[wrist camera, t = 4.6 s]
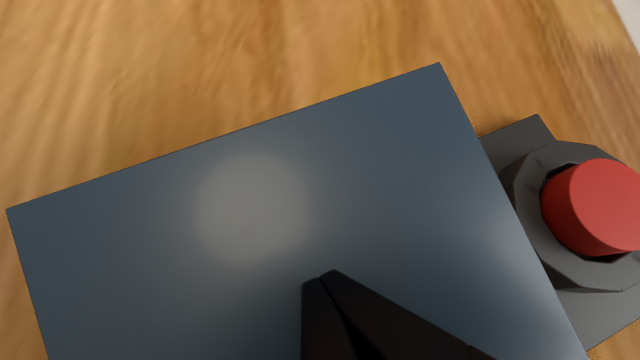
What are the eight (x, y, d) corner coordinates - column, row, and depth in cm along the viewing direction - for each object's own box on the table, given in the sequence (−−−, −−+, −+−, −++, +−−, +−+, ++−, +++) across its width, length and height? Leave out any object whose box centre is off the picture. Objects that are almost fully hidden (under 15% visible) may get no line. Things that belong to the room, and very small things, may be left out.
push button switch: (656, 295, 17) (727, 294, 15) (544, 364, 16) (601, 378, 13) (532, 119, 20) (571, 89, 18) (427, 162, 19) (452, 137, 16)
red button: (640, 235, 16) (682, 227, 14) (575, 271, 15) (611, 267, 13) (586, 160, 17) (619, 145, 15) (523, 190, 16) (550, 177, 14)
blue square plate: (25, 212, 8) (3, 208, 8) (429, 73, 11) (440, 61, 10) (200, 800, 7) (193, 862, 6) (628, 473, 9) (657, 491, 8)
